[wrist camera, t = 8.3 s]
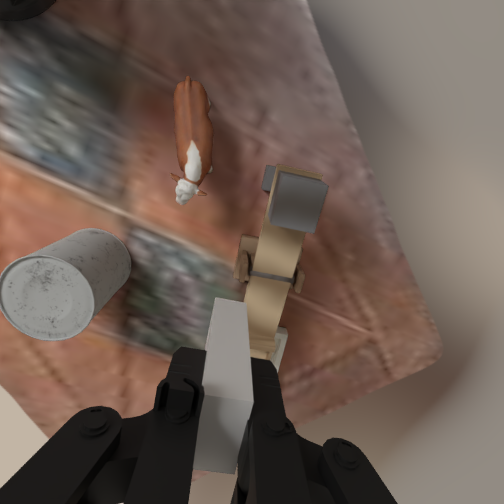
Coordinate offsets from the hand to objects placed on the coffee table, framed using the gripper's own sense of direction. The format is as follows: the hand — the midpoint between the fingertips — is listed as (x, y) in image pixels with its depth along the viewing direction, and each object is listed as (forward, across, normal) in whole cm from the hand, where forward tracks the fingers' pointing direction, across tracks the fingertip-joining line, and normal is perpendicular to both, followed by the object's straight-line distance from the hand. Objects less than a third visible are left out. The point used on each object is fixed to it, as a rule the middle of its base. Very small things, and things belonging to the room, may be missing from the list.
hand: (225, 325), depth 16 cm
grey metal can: (+30, -17, -10) cm, 36 cm away
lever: (+23, +6, -5) cm, 25 cm away
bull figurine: (+30, -6, +8) cm, 31 cm away
